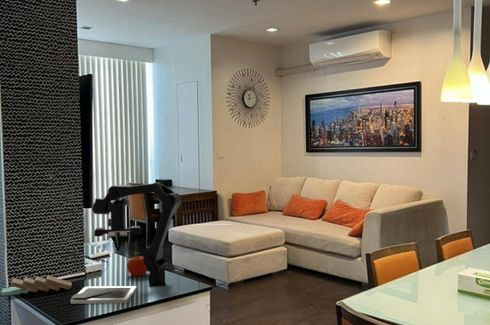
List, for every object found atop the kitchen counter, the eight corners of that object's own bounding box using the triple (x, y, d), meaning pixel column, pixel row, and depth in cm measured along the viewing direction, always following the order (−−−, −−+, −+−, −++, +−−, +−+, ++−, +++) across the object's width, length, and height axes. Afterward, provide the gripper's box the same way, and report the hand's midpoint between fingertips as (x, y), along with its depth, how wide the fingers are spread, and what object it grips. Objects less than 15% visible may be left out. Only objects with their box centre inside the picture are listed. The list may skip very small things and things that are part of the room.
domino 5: (71, 282, 194) (47, 275, 192) (71, 286, 190) (46, 278, 187) (70, 286, 194) (46, 279, 191) (69, 289, 190) (44, 282, 187)
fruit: (130, 279, 204) (130, 256, 203) (124, 274, 212) (124, 252, 212) (152, 275, 209) (151, 253, 208) (145, 271, 217) (144, 249, 216)
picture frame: (70, 305, 173) (127, 304, 173) (70, 298, 173) (127, 297, 173) (84, 292, 189) (136, 291, 189) (84, 285, 189) (136, 284, 189)
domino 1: (30, 286, 191) (3, 288, 188) (28, 289, 186) (0, 292, 183) (30, 289, 191) (3, 292, 188) (29, 293, 186) (1, 296, 183)
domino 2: (38, 284, 191) (13, 278, 187) (38, 288, 186) (12, 281, 182) (37, 288, 191) (11, 281, 187) (36, 292, 186) (10, 285, 182)
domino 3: (50, 284, 192) (25, 277, 189) (49, 287, 187) (23, 280, 184) (48, 287, 192) (23, 280, 189) (47, 291, 187) (22, 284, 184)
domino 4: (61, 283, 193) (36, 276, 190) (60, 287, 188) (35, 279, 186) (59, 287, 193) (35, 279, 190) (58, 290, 188) (33, 283, 185)
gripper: (140, 211, 209) (140, 246, 210) (96, 212, 205) (97, 248, 206) (139, 214, 199) (140, 251, 199) (93, 216, 195) (94, 254, 195)
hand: (118, 251), depth 200 cm, fingers closed
